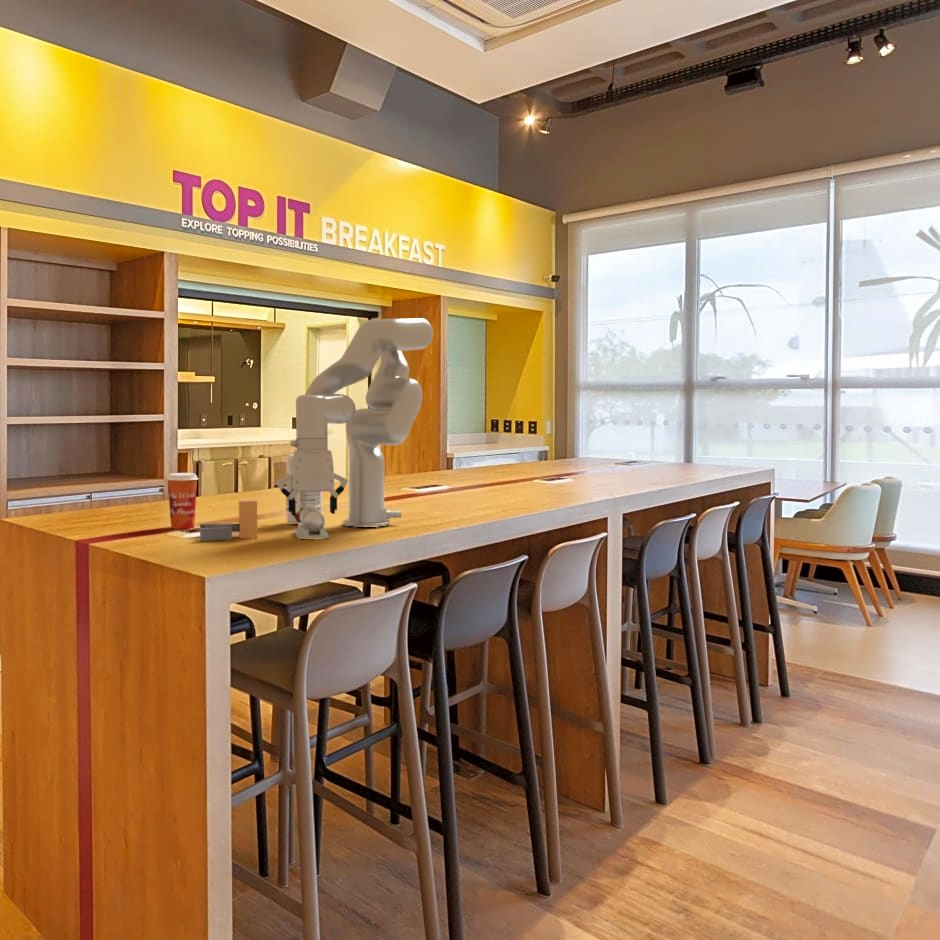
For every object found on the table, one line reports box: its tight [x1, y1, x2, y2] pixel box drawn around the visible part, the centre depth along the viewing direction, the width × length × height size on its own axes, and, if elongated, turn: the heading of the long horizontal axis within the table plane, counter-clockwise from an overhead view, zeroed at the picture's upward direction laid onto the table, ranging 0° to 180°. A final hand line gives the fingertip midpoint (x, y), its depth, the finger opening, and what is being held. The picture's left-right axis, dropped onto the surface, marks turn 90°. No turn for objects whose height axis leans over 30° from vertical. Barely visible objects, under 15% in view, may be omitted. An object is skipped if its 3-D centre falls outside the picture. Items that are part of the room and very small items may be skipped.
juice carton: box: [285, 453, 323, 525], centre depth 214 cm, size 8×9×19 cm
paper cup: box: [166, 472, 199, 530], centre depth 203 cm, size 8×8×14 cm
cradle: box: [293, 523, 330, 540], centre depth 195 cm, size 7×11×2 cm, turn 20°
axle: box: [300, 507, 326, 532], centre depth 194 cm, size 9×5×5 cm, turn 20°
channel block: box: [199, 522, 233, 542], centre depth 189 cm, size 7×8×3 cm
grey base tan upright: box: [205, 498, 258, 539], centre depth 190 cm, size 12×4×9 cm, turn 110°
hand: (313, 513), depth 196 cm, fingers open, 9 cm apart
